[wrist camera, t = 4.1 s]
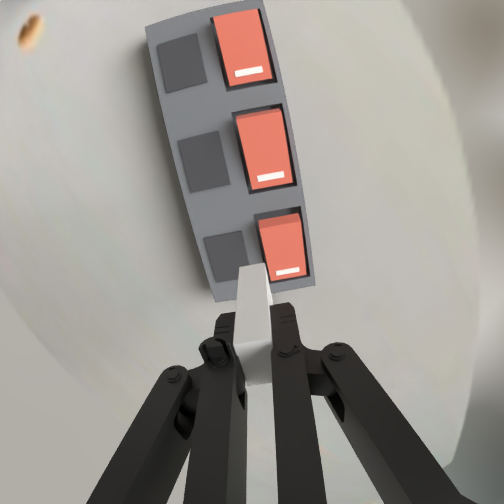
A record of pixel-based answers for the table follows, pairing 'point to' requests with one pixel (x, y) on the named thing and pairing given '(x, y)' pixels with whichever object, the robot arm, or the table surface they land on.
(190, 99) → the power strip
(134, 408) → the table surface
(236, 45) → the rocker
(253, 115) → the rocker
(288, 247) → the rocker
